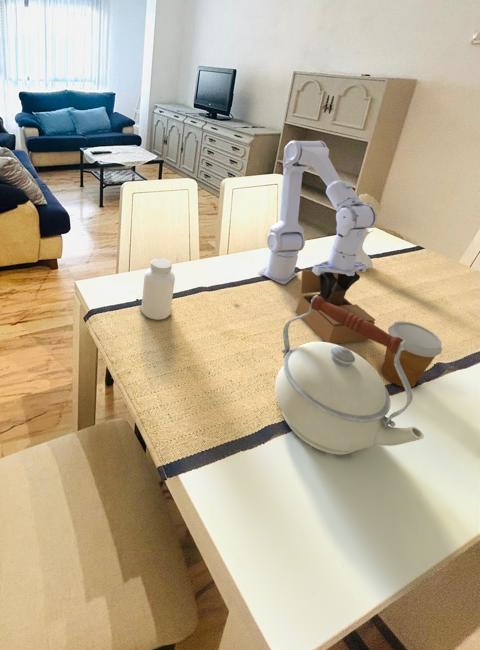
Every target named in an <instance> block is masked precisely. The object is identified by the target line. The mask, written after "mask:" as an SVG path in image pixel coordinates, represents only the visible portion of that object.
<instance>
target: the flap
mask: <svg viewBox="0 0 480 650" xmlns="http://www.w3.org/2000/svg"><path fill="white" fill-rule="evenodd" d="M333 275H334V277H335V278H337V279H338V273H333ZM300 278H301V279H300V295H301V294H302V295H304V294H313V293H314V294H316V293H320V291H321V289H320V280H319V276H318V275H316V274H314V273H313V272H312V269H307V270H301V277H300ZM336 284H337V282H336Z"/></svg>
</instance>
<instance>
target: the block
mask: <svg viewBox="0 0 480 650" xmlns="http://www.w3.org/2000/svg"><path fill="white" fill-rule="evenodd" d="M346 293H347V291H345V290H344V289H343V288H342V287H340V286H339V285H338V284H336V283H335V285H334V286H333V288H332V290H331V293H330V295H329V297H328V298H324V297H323V296H322V295H321V291H320V292H319V294H320V295H319V296H320V297H322V298H323V299H324V301H325V302H328V303H330V304H333V305H335V304H342V303H343V300H344V298H345V297H346Z"/></svg>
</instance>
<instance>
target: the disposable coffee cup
mask: <svg viewBox="0 0 480 650" xmlns="http://www.w3.org/2000/svg"><path fill="white" fill-rule="evenodd" d="M387 333H388V334H389V335H391V336H393V337H400V338H401V339H402V340H405V344H404V348H405V349H404V350H403V351H401V354H400V357H399V361H400V364H401V367H402V369H403V371H404V373H405V375H406V377H407V380H408V382H409V384H410V387H411V388H414V387H415V385H416V384H417V382H418V381H419V380H420V378H421V377H422V376H423V374H424V373H425V371H426V370H427V369H428V367H430V364H432V362H433V360H434V359H435V358H436V357H437V356H438V355H440V354H441V353H442V351H443V348H442V341H441V339H440V338H439V336H438V335H436V334H435V333H434V332H433V331H431V330H429V329H428V328H426V327H424V326H422V325H419V324H417V323H414V322H411V321H402V320H399V321H395V322H394V323H392V325H390V326H389V327H388V329H387ZM395 355H396V353H392V352H390V350H389V349H388V348H387V347H385V354H384V358H383V364H382V366H381V367H382V368H381V373H382V375H383V376H384V378H386V379H387V380H388V381H389V382H391V383H393V384H394V385H396V386H399V387H402V388H404V386H403V383H402V381H401V379H400V377H399V375H398V373H397V370H396V368H395V365H394V358H395Z"/></svg>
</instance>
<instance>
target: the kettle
mask: <svg viewBox="0 0 480 650" xmlns="http://www.w3.org/2000/svg"><path fill="white" fill-rule="evenodd" d="M313 310H320V311H322V312H323V313H325V314H326V315H328V316H329V317H330V318H332V319H333V320H335V321H337V322H338V323H340V324H343V325H345V326H346V327H349V329H351V330H353V331H355V332H358V333H359V334H361V335H362V336H364V337H366V338H368V339H369V340H370V341H373V342H375V343H377V344H379V345H382V346H384V347H385V348H388V349H389V350H390V352H392V353H396V355H395V358H394V365H395V368H396V370H397V373H398V375H399V377H400V379H401V381H402V383H403V386H404V387H403V388H404V391H405V393H406V404H405V405H404V406H403V407H401V408H400V409H398V410H396V411H394V412H393V413H391V414H390V415H389V416H388V417H387V416H386V415H387V414H388V413H389V411H390V408H391V396H390V393H389V391H388V389H387V387H386V385H385V384H384V382H383V380H382V378H381V376H380V374H379V372H377V371H376V369H375V368H374V367H373V366H372V365H371V364H370V363H369V361H367V360H366V359H365V358H364V357H362V356H361V355H359V354H358V353H356V352H355V351H353V350H351V349H349V348H347V347H345V346H341V345H339V344H332V343H327V342H325V341H311V342H306V343H303V344H301V345H298V346H295V347H293V348H291V345H290V339H289V327H290V325H291V323H292V322H295V321H296V320H299V319H302V317H305V316H307V315H309V314H310V313H311V312H312V311H313ZM282 338H283V339H282V340H283V346H284V348H282V349H281V354H283V356H282V359H283V361H282V366H281V368H280V369H279V371H278V373H277V375H276V379H275V384H274V391H275V397H276V400H277V403H278V406H279V408H280V410H281V413H282V416H283V418H284V420H285V422H286V424H287V425H288V427H289V428H290V429H291V431H292V432H293V433H294V434H295V435H296V436H297V437H298V438H299V439H300V440H301V441H303V442H305V443H306V444H307V445H309V446H311V447H312V448H315V449H317V450H319V451H321V452H323V453H327V454H332V455H337V456H338V455H348V454H351V453H353V452H357V451H362V450H365V449H368V448H370V447H372V446H385V447H386V446H387V447H392V446H399V445H404V444H407V443H411V442H416V441H420V440H423V439H424V438H425V435H424V433H423V431H421V429H419V428H418V427H416V426H409V427H408V426H407V427H396V422H395V421H394V420H392V419H394V418H395V417H398V416H400V415H401V414H403V412H405V411H406V410H407V409H408V408H409V406H410V405H411V403H412V402H413V390H412V387H410V384H409V382H408V380H407V377H406V375H405V373H404V371H403V369H402V367H401V364H400V361H399V357H400V354H401V351H403V350H404V349H405V348H404V344H405V340H402V339H401V338H400V337H393V336H391V335H389V333H388V332H386V331H384V329H381V328H380V327H378V326H377V325H375V324H374V325H373V324H372V323H370V322H367V321H365V320H363V319H362V318H359V317H358V316H355V315H354V314H352V313H349V312H348V311H346V310H345V309H343V308H340V307H338V306H335V305H333V304H330V303H328V302H325V301H324V299H323V298H322V297H320V296H318V295H316V296H314V297H313V299H312V300H311V306H310V309H309V311H308V313H306V314H303V315H300V316H299V315H298V316H296V317H293V318H292V319H290V320H289V321H287V322H286V323H285V325H284V326H283V331H282Z"/></svg>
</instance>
